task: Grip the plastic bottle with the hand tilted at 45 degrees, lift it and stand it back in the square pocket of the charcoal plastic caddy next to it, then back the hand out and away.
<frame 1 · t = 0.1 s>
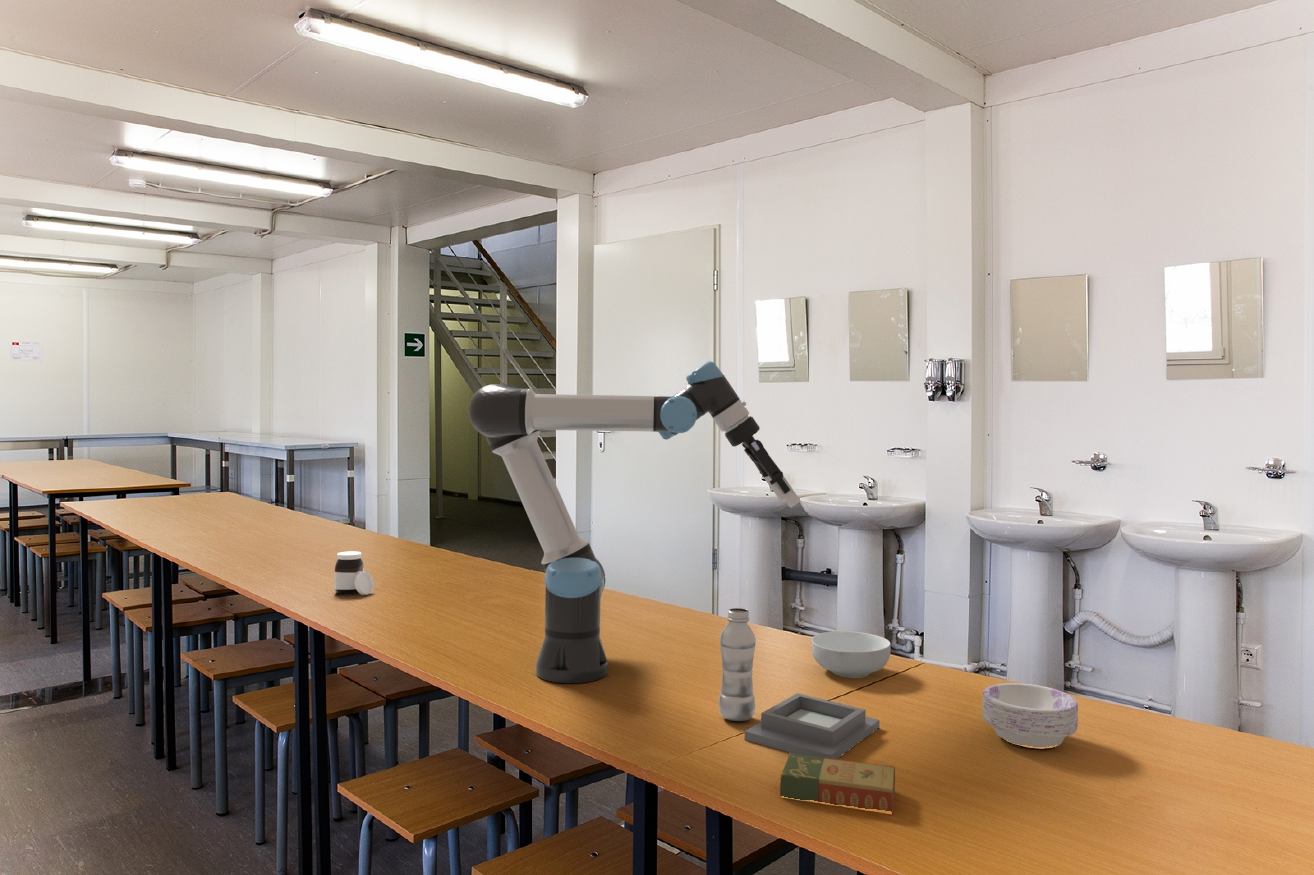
hand: (790, 501, 194), 36 cm above the table, tool tilted 35°, fingers open, 13 cm apart
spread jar: (354, 593, 254), on the table
bottle caddy: (813, 733, 150), on the table
cereal bowl: (849, 673, 185), on the table
plastic bottle: (736, 720, 156), on the table
carton: (837, 798, 127), on the table
paper bowls: (1028, 741, 149), on the table
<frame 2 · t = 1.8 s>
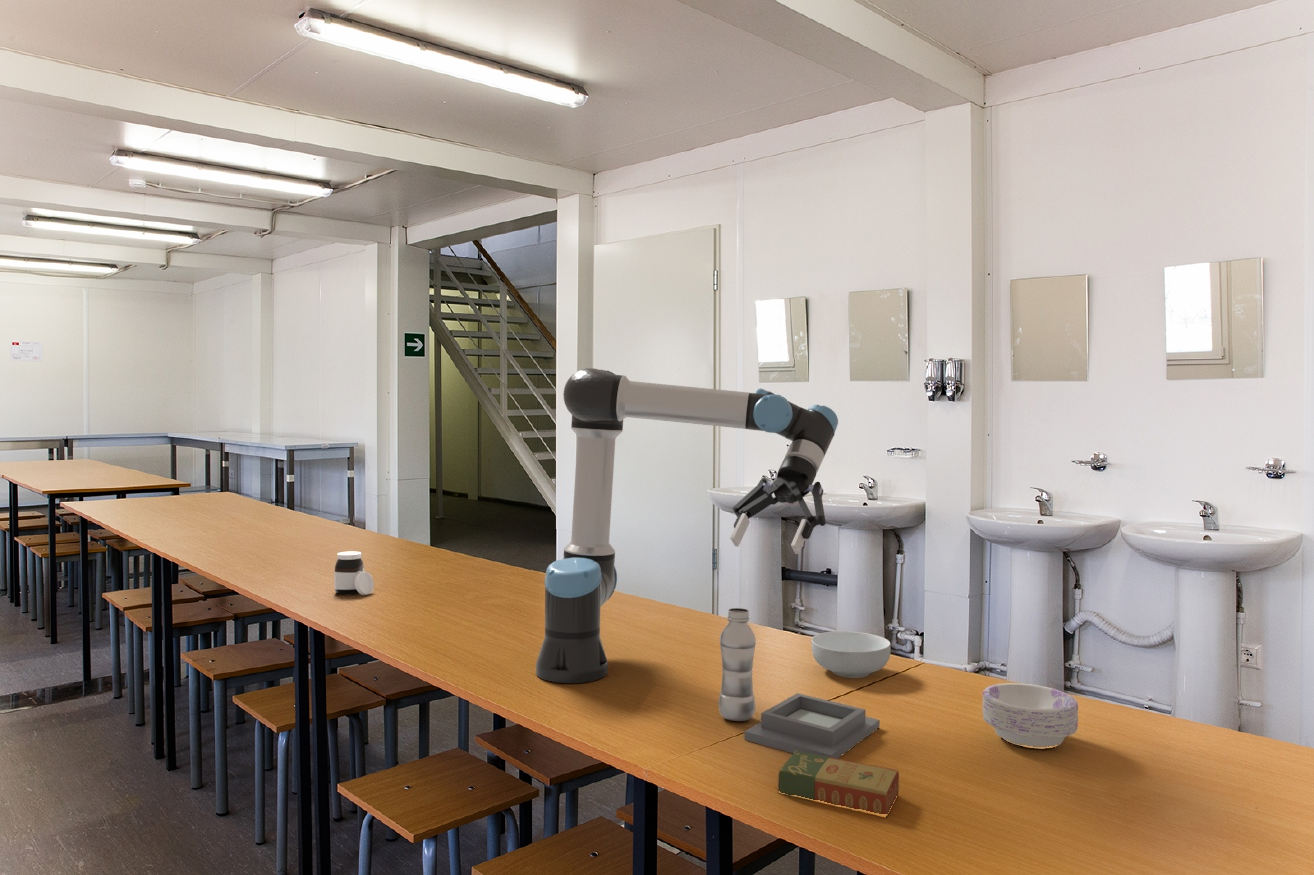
hand: (763, 546, 169), 30 cm above the table, tool tilted 45°, fingers open, 13 cm apart
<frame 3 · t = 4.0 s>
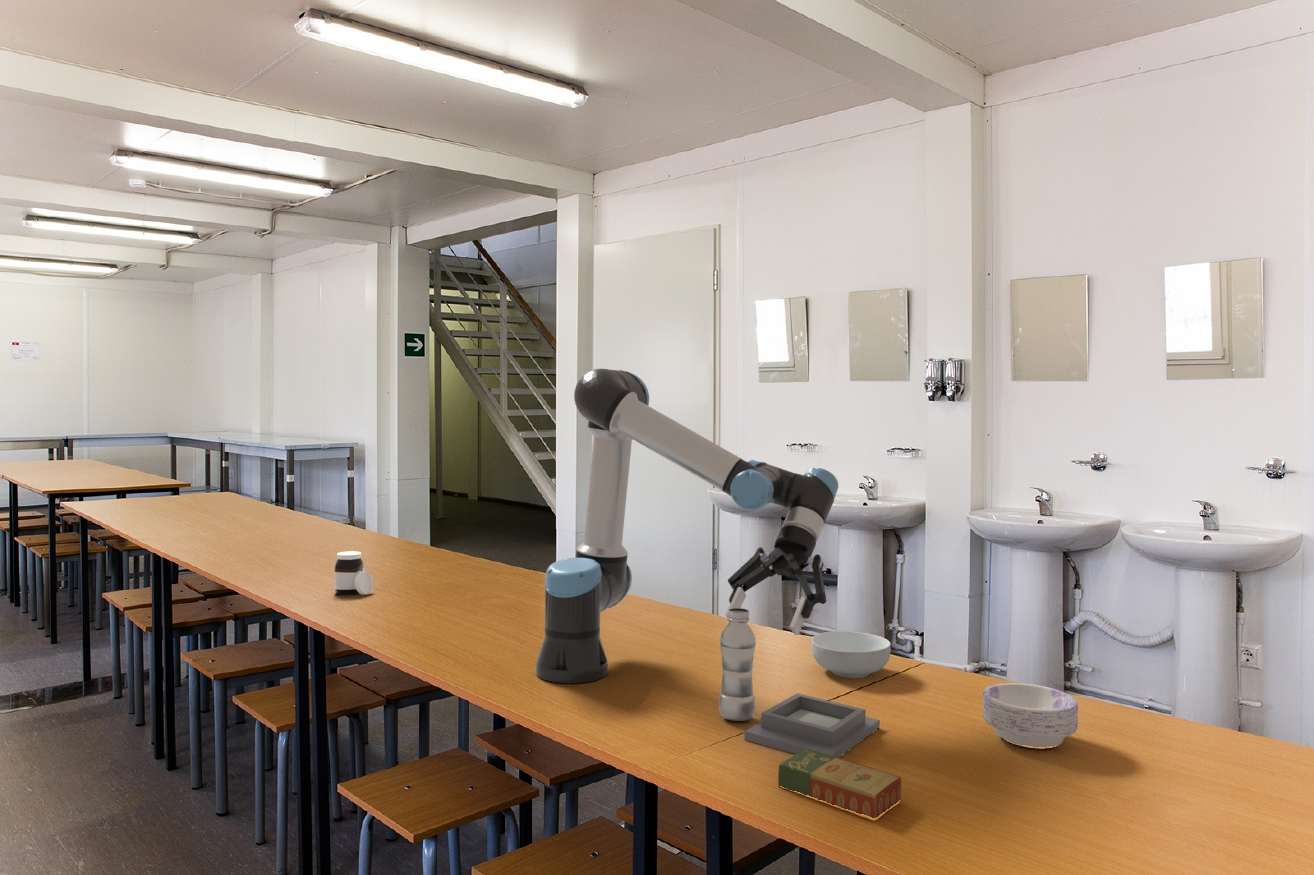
hand: (760, 625, 160), 16 cm above the table, tool tilted 45°, fingers open, 13 cm apart
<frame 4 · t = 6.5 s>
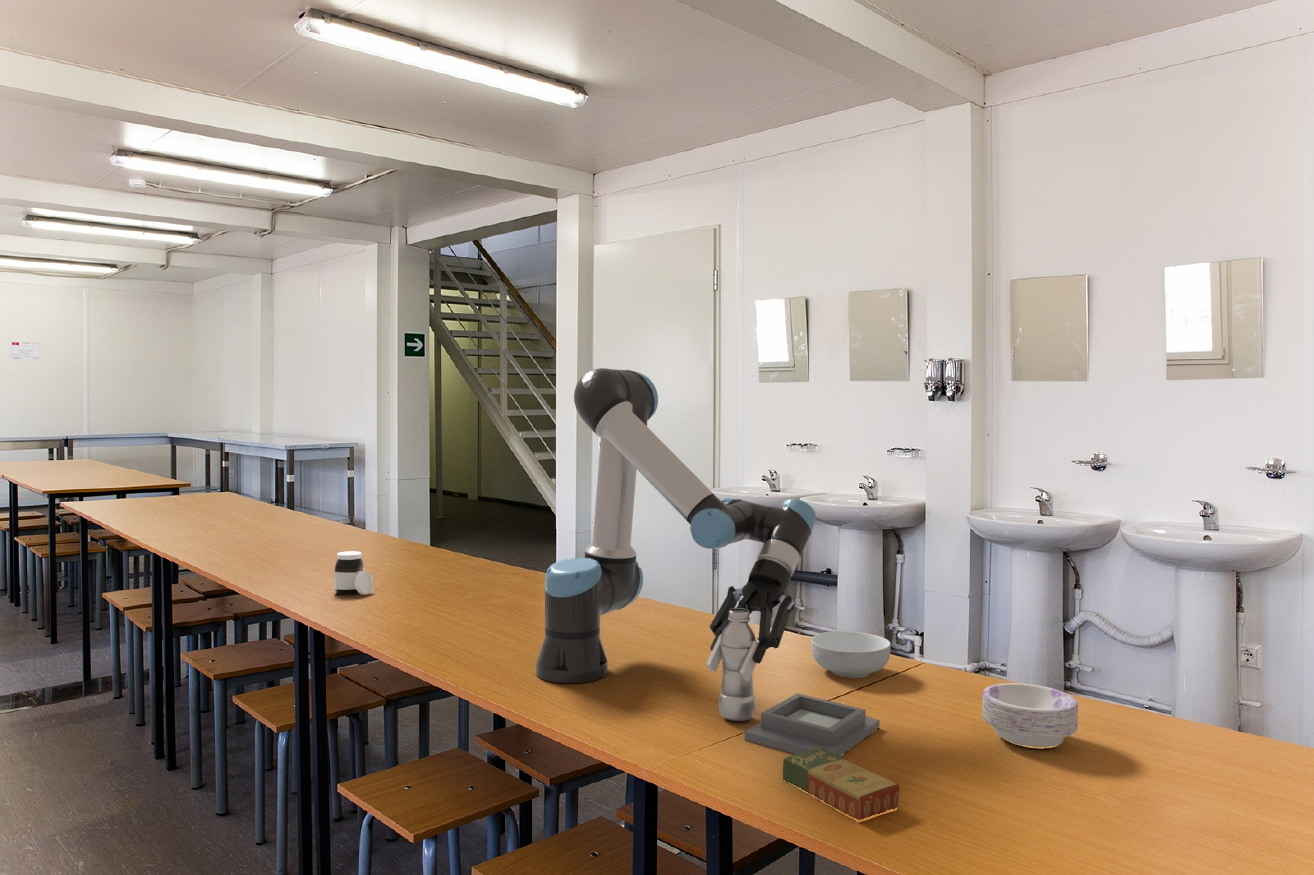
hand: (727, 672, 153), 9 cm above the table, tool tilted 45°, fingers closed on plastic bottle, 6 cm apart
plastic bottle: (736, 719, 156), on the table, touching gripper
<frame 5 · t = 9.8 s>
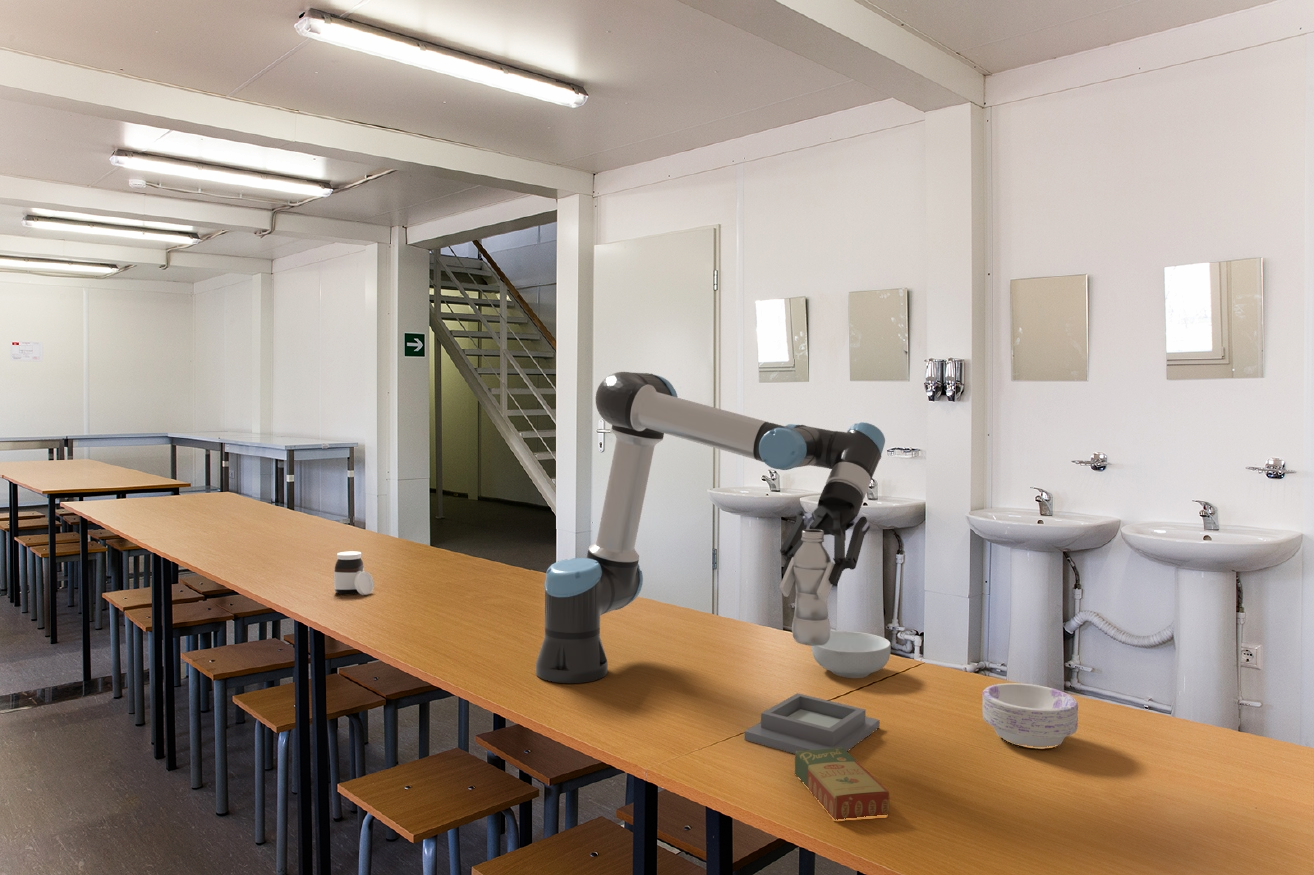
hand: (802, 594, 146), 25 cm above the table, tool tilted 45°, fingers closed on plastic bottle, 6 cm apart
plastic bottle: (810, 645, 150), point 15 cm above the table, touching gripper
when the fingers open (12 cm above the table, at t = 13.2 s): plastic bottle drops 1 cm, resting on bottle caddy.
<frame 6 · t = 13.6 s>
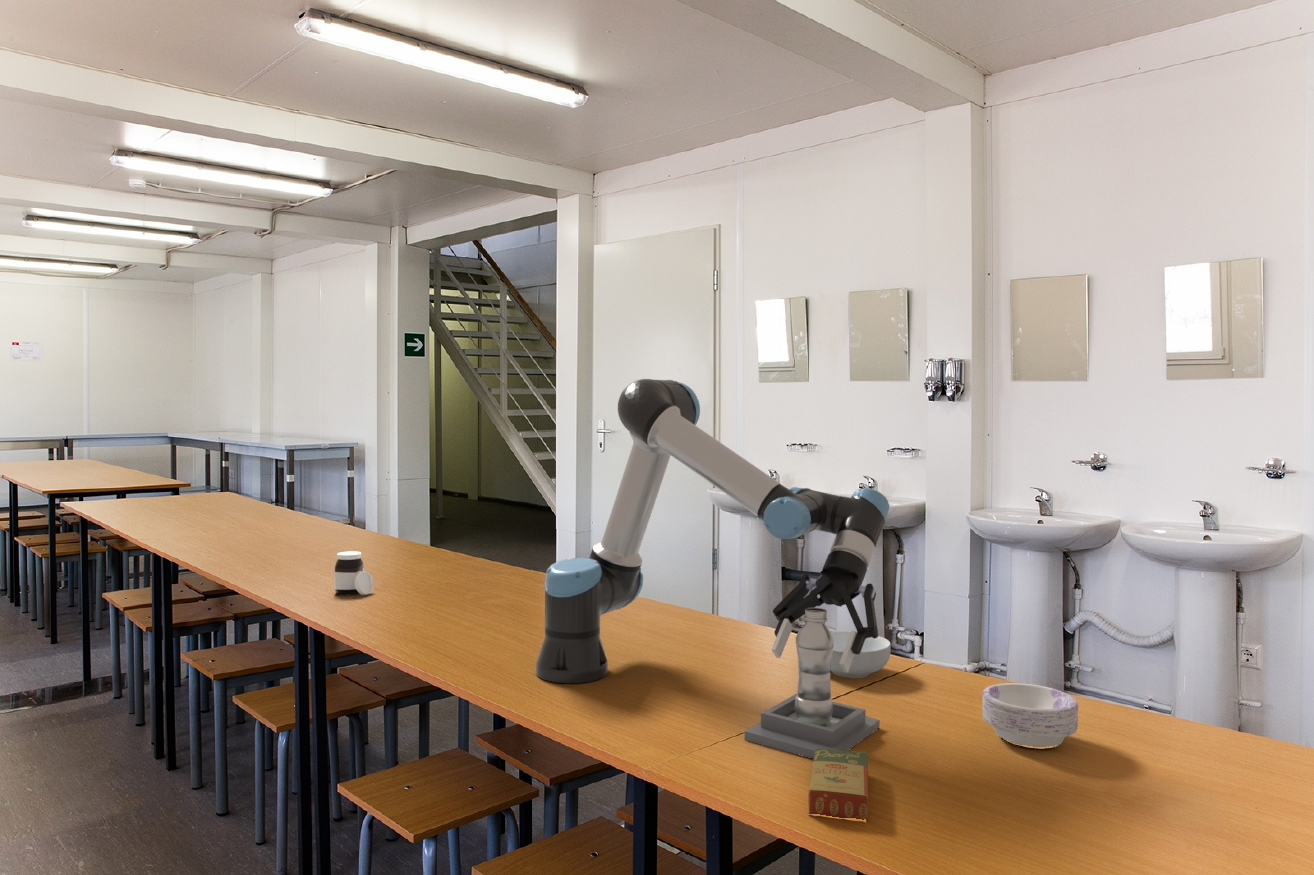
hand: (808, 661, 147), 13 cm above the table, tool tilted 45°, fingers open, 12 cm apart
plastic bottle: (813, 724, 150), point 2 cm above the table, touching bottle caddy
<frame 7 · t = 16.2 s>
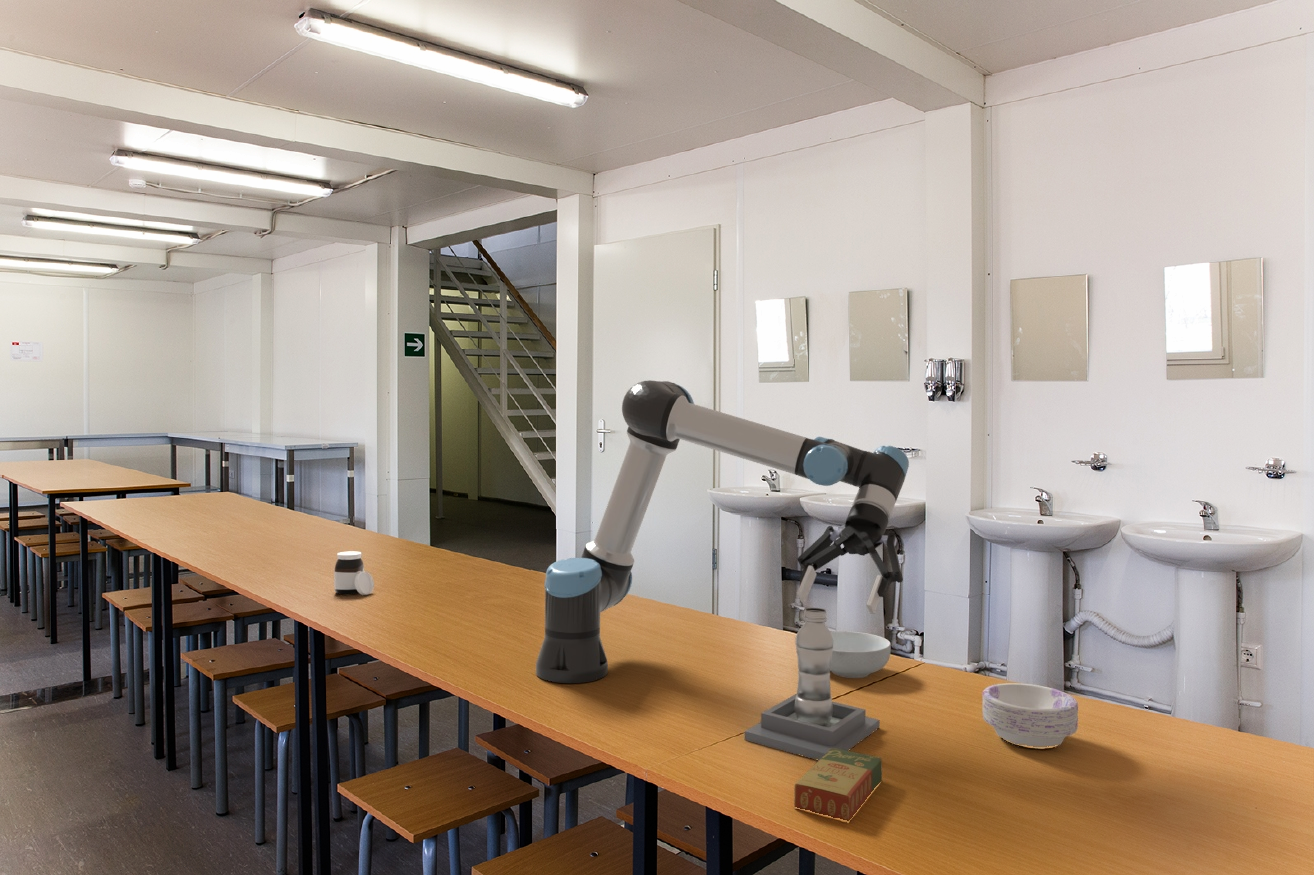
hand: (834, 604, 155), 22 cm above the table, tool tilted 45°, fingers open, 13 cm apart
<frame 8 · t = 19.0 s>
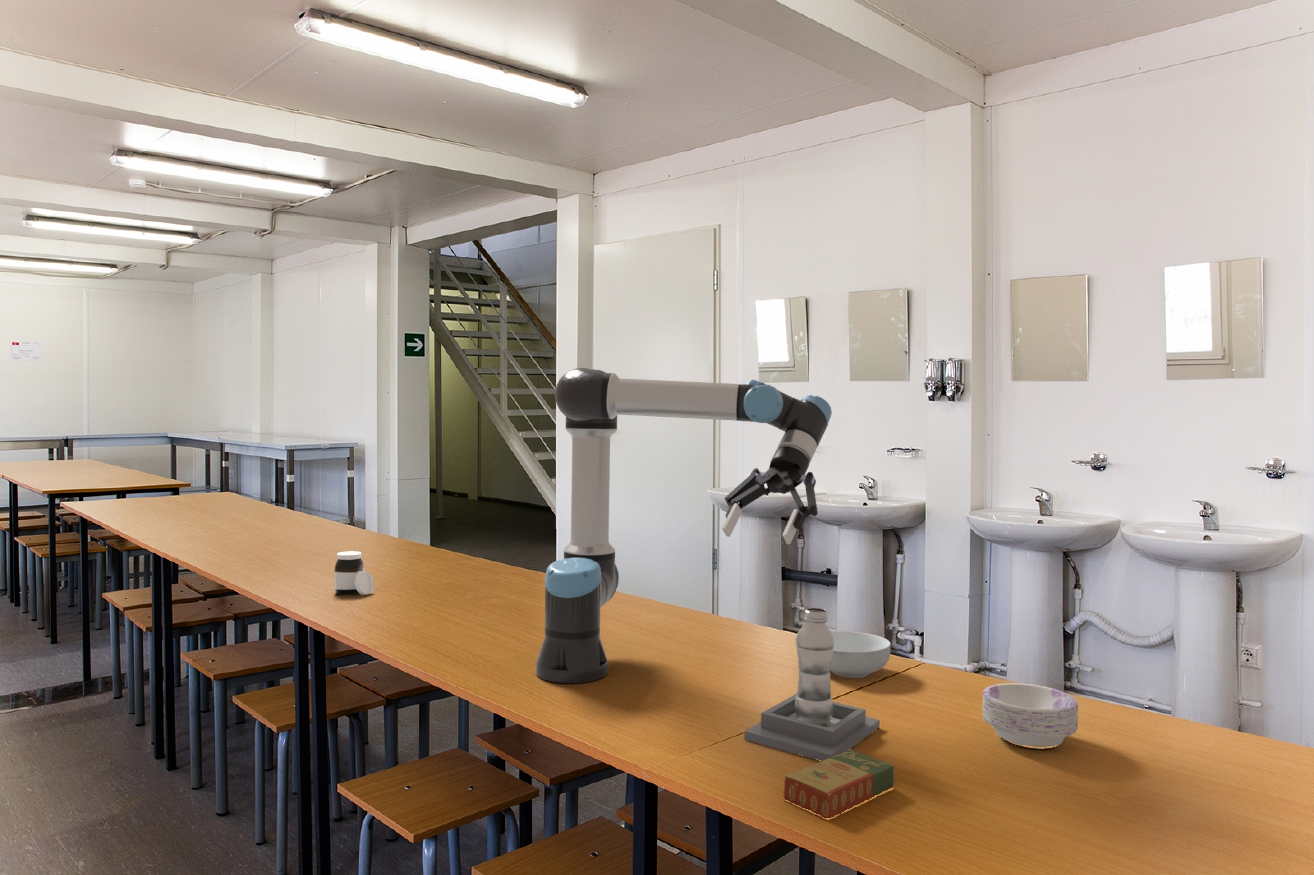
hand: (755, 536, 168), 32 cm above the table, tool tilted 45°, fingers open, 13 cm apart
at the end: plastic bottle inside the target area on the bottle caddy (0.1 cm from its centre), point 1.6 cm above the bottle caddy's base; plastic bottle tilted 0°; the gripper is holding nothing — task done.
